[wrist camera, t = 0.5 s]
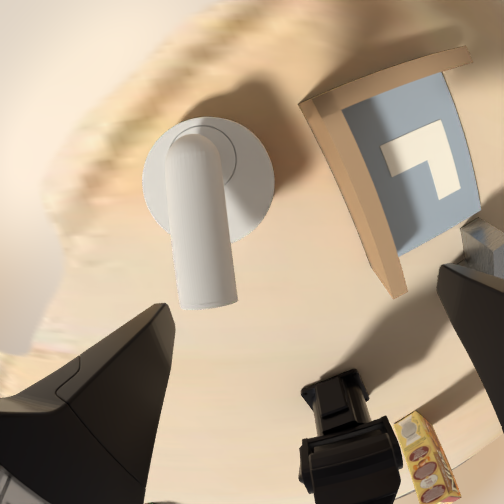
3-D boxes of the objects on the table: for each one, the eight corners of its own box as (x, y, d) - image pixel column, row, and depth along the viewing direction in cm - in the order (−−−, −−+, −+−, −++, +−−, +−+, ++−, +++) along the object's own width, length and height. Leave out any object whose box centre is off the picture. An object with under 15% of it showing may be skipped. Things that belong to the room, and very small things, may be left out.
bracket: (484, 267, 24) (512, 292, 19) (440, 295, 25) (465, 325, 20) (478, 217, 22) (512, 237, 17) (431, 245, 23) (461, 271, 18)
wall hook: (131, 333, 15) (71, 143, 11) (171, 257, 23) (144, 131, 19) (296, 320, 14) (271, 96, 10) (280, 243, 23) (263, 108, 19)
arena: (477, 207, 21) (511, 227, 17) (370, 266, 24) (393, 299, 19) (429, 54, 16) (465, 45, 12) (297, 104, 19) (311, 98, 14)
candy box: (391, 424, 34) (419, 512, 20) (416, 408, 33) (450, 496, 19) (412, 437, 37) (437, 511, 23) (433, 423, 35) (462, 497, 21)
